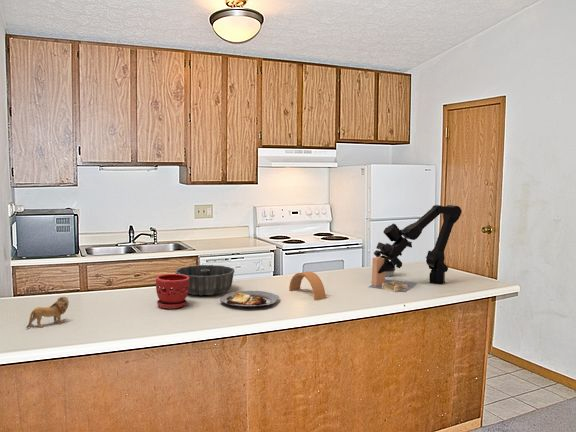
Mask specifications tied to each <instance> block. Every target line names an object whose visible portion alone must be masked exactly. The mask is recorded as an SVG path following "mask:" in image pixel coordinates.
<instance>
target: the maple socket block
mask: <svg viewBox="0 0 576 432" xmlns="http://www.w3.org/2000/svg"><path fill="white" fill-rule="evenodd" d="M395 281H396V280H394V282H388V283H382V289H381V290H384V289H385V290H384V291H390V292H392V293H398V292H399V291H404V290H407V287H408V285H406V284H403V283H399V282H395ZM399 293H400V292H399Z"/></svg>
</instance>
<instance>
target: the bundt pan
mask: <svg viewBox="0 0 576 432" xmlns="http://www.w3.org/2000/svg"><path fill="white" fill-rule="evenodd" d="M174 272H175V273H174V274H180V275H186V276H188V277H189V290H188V294H187V295H192V296H198V295H199V296H201V297H202V296H203V295H205V296H211V295H214V296H217V295H219V294H223V293H225V292H227V291H229V290H230V289H231V288H232V285H233V281H234V280H233V279H234V274H235V273H236V272H235V268H234V267H230V266H225V265H220V264H219V265H217V264H216V265H214V264H207V265H206V264H195V265H188V266H182V267H179V268H177V269H175V271H174ZM183 288H184V287H183Z"/></svg>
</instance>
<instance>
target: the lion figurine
mask: <svg viewBox="0 0 576 432" xmlns="http://www.w3.org/2000/svg"><path fill="white" fill-rule="evenodd" d="M68 299H69V298H68V297H67V296H60V297H58V298H57V300H56V301H55V302H53V304H52V305H50V306H44V307H41V306H37V307H35V308H34V309H32V310H31V313H30V315H29V318H28V319H29V320H28V321H29V322H28V324H27V326H26V329H29V328H30V327H34V324H33V322H34V321H36V324H37V326H38V327H39V328H44V326H45V325H44V324H41V320H42V318H43V317H45V318H51V317H53V323H57V324H58V325H59V324H60V325H61V324H63V322H62V321H61V319H62V317H61V316H62V315H64V314H65V313H66V311H67V310H68V307H69V303H70V301H69V300H68Z"/></svg>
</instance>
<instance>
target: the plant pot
mask: <svg viewBox="0 0 576 432" xmlns="http://www.w3.org/2000/svg"><path fill="white" fill-rule="evenodd" d="M155 278H156V279H155V291H156V294H157V297H158V300H157V301H156V304H157V305H158V306H159V307H160V308H162V309H169V310H170V309H172V310H173V309H179V308H182V307H184V306H186V304H187V302H188V301H187V296H188V295H189V294H188V290H189V277H188V276H186V275H180V274H176V273H168V274H159V275H156V277H155ZM183 287H184V288H183Z"/></svg>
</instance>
